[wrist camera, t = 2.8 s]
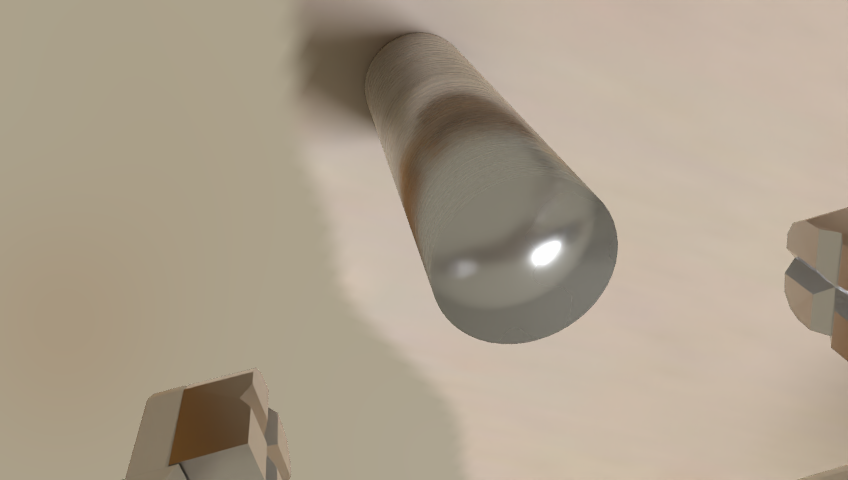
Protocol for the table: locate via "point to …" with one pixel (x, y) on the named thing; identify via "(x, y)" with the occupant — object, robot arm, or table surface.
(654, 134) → the table surface
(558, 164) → the pin
